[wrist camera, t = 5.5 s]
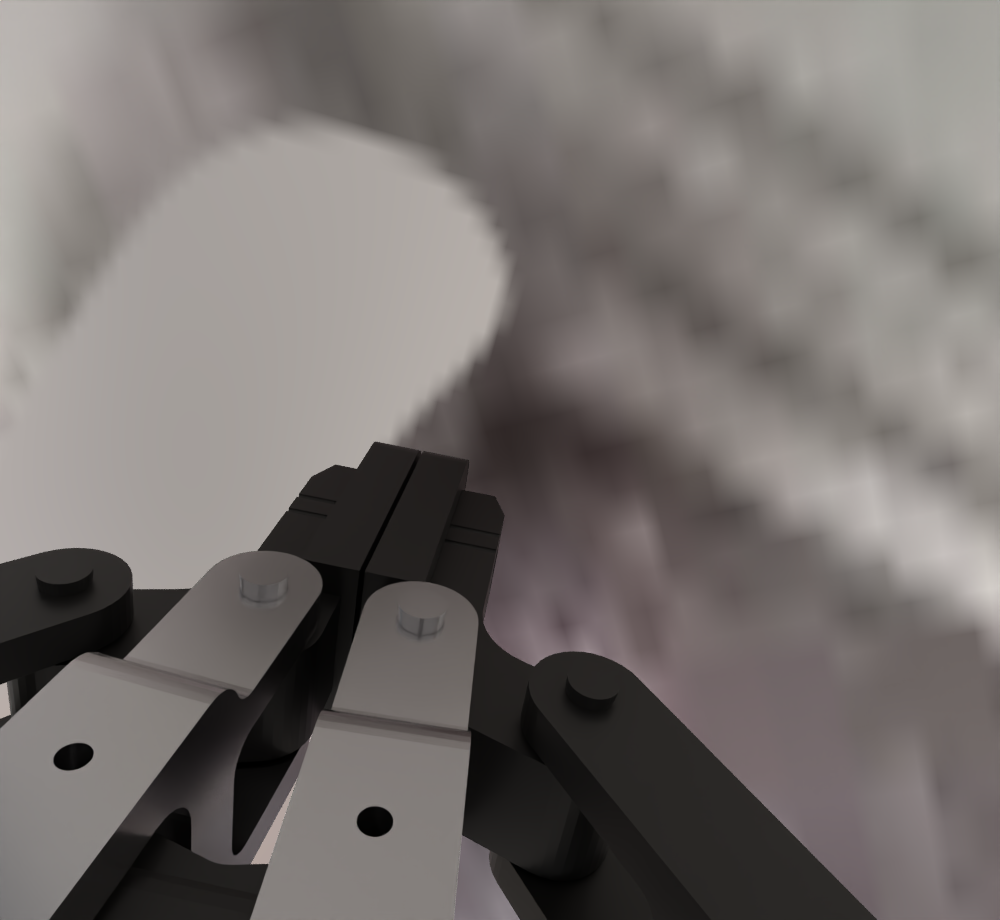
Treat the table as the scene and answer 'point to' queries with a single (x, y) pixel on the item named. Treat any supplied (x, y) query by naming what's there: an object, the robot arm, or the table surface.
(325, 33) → the table surface
